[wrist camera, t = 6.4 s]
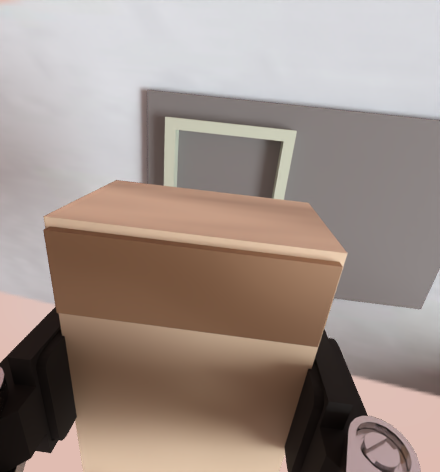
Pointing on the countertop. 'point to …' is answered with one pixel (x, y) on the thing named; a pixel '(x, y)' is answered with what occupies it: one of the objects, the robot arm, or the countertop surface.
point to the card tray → (233, 130)
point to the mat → (325, 181)
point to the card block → (188, 323)
